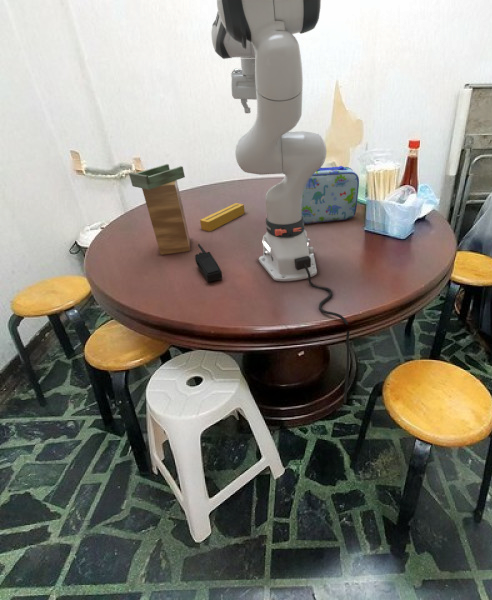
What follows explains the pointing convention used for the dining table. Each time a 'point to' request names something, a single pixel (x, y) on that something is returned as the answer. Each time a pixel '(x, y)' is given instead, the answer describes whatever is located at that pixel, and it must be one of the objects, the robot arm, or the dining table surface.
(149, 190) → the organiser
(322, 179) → the lunch box
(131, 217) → the dining table surface
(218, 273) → the walkie-talkie
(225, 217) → the pencil case
